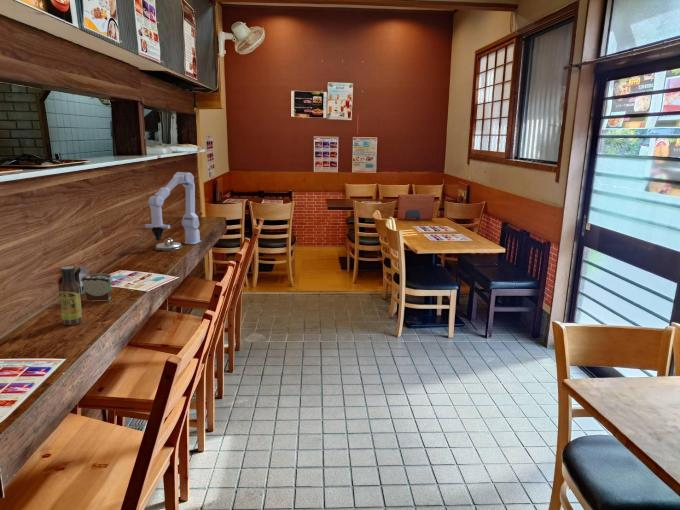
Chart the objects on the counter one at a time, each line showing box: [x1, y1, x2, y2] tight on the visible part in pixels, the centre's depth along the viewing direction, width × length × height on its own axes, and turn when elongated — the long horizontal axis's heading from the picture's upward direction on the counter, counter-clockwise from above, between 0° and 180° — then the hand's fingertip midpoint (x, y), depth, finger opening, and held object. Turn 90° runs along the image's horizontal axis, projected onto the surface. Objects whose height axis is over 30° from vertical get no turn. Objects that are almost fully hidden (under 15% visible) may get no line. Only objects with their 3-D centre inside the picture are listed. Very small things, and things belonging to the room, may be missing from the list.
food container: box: [80, 272, 114, 301], centre depth 190 cm, size 12×6×10 cm, turn 84°
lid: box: [163, 237, 174, 245], centre depth 282 cm, size 5×5×4 cm
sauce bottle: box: [58, 265, 83, 326], centre depth 163 cm, size 6×6×20 cm
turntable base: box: [154, 244, 183, 252], centre depth 283 cm, size 15×15×1 cm
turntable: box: [155, 240, 182, 249], centre depth 282 cm, size 14×14×5 cm
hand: (158, 240), depth 276 cm, fingers closed
